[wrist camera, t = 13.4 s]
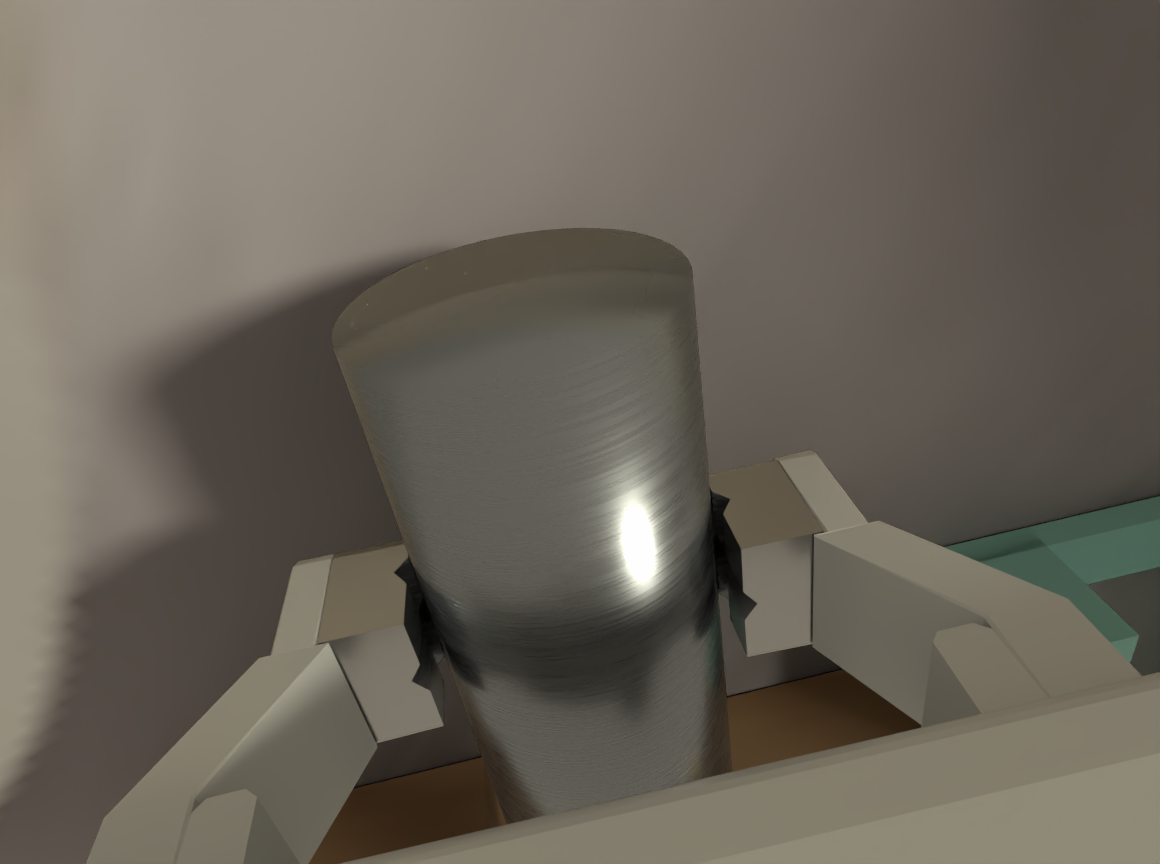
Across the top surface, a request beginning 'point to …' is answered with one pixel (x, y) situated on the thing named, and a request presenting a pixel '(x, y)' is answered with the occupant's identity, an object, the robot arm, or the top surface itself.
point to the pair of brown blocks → (469, 804)
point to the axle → (554, 503)
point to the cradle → (1080, 558)
